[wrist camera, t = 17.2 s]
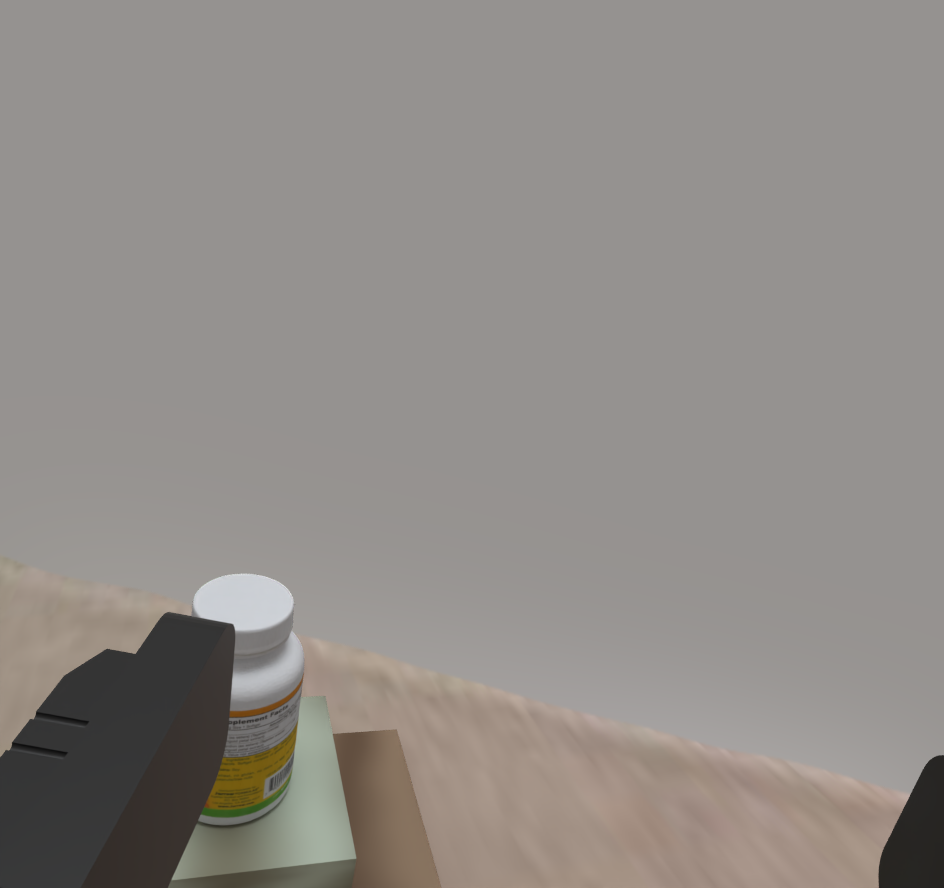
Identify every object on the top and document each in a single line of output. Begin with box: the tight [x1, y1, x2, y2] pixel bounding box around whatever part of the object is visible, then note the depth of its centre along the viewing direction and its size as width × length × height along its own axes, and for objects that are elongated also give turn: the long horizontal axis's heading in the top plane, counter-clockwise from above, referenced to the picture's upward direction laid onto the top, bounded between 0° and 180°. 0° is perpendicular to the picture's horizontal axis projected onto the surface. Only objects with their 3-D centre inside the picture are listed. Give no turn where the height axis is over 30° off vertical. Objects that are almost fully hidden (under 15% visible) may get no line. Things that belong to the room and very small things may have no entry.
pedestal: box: [168, 696, 441, 888], centre depth 40 cm, size 20×15×6 cm
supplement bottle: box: [191, 574, 304, 825], centre depth 37 cm, size 5×5×10 cm
